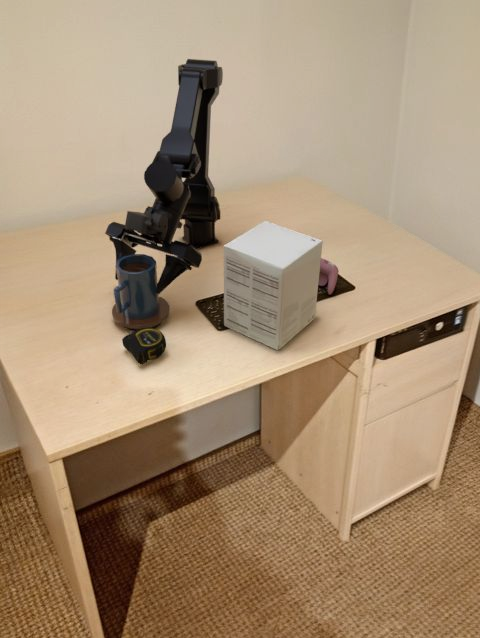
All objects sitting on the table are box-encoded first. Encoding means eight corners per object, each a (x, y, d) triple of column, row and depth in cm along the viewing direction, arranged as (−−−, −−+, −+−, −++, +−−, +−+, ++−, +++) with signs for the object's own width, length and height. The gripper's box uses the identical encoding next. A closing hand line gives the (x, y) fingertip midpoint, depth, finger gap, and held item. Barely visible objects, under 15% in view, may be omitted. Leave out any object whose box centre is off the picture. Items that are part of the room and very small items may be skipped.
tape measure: (122, 350, 111) (119, 333, 109) (156, 337, 114) (154, 321, 112) (138, 370, 107) (136, 353, 104) (173, 357, 110) (172, 340, 107)
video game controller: (335, 294, 131) (342, 261, 130) (332, 295, 127) (338, 262, 125) (291, 285, 133) (297, 253, 132) (286, 286, 129) (293, 253, 128)
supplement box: (261, 296, 127) (264, 219, 116) (316, 319, 121) (324, 239, 110) (222, 326, 118) (221, 245, 107) (278, 351, 112) (283, 269, 101)
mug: (136, 291, 124) (130, 243, 118) (180, 306, 120) (178, 258, 114) (96, 320, 116) (88, 271, 109) (143, 338, 112) (138, 288, 105)
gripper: (105, 180, 111) (72, 259, 110) (191, 203, 104) (157, 288, 103) (135, 205, 122) (106, 278, 120) (215, 228, 115) (185, 305, 114)
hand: (136, 286), depth 114 cm, fingers open, 9 cm apart
